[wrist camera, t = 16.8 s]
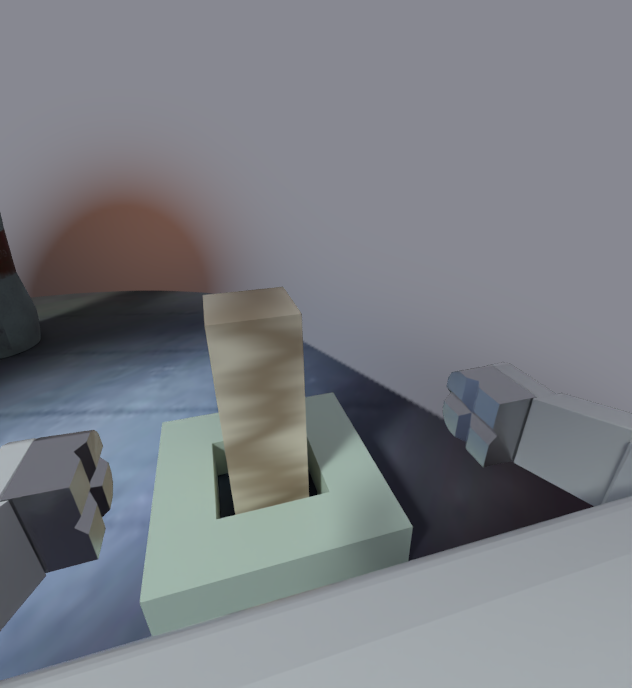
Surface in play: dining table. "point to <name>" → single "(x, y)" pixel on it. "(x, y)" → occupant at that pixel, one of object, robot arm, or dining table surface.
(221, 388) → the peg
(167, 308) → the dining table surface
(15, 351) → the bottle
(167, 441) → the socket plate
